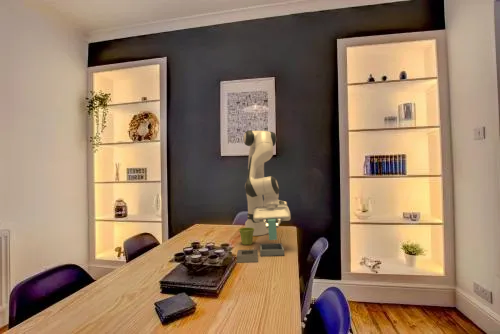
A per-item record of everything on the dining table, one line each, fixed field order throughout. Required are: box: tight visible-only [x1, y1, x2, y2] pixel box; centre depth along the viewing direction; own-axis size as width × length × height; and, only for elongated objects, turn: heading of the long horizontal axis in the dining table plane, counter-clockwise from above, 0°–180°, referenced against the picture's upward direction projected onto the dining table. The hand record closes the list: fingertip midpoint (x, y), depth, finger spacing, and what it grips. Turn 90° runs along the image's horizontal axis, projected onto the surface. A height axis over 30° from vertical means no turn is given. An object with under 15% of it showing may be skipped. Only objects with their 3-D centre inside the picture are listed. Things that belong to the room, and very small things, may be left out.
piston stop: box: [267, 219, 278, 241], centre depth 135 cm, size 4×4×10 cm
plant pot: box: [238, 227, 254, 246], centre depth 154 cm, size 9×9×9 cm
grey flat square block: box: [236, 248, 259, 264], centre depth 126 cm, size 10×10×3 cm
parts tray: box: [259, 242, 285, 257], centre depth 135 cm, size 12×12×3 cm
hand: (272, 227), depth 135 cm, fingers closed on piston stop, 4 cm apart
